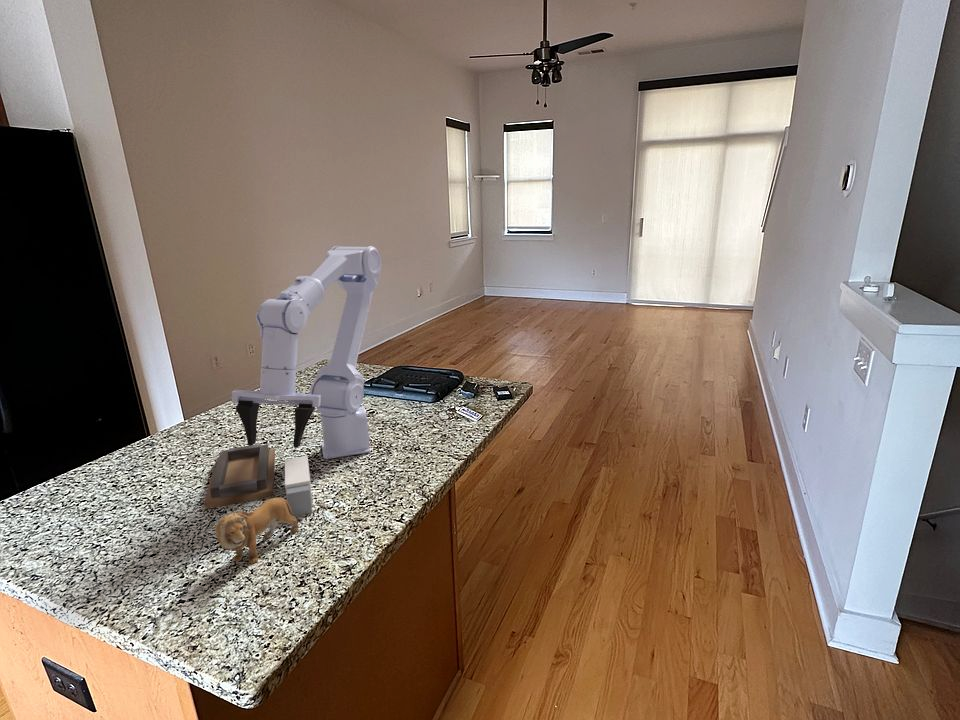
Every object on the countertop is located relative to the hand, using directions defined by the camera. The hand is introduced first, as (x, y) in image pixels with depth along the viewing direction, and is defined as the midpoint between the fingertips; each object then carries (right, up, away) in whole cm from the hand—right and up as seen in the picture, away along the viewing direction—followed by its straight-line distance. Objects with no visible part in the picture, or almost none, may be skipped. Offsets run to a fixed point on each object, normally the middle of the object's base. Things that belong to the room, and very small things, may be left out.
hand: (274, 445), depth 90 cm
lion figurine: (+3, -14, -12) cm, 19 cm away
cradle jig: (-9, -8, +9) cm, 15 cm away
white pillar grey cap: (+4, -9, +3) cm, 10 cm away
